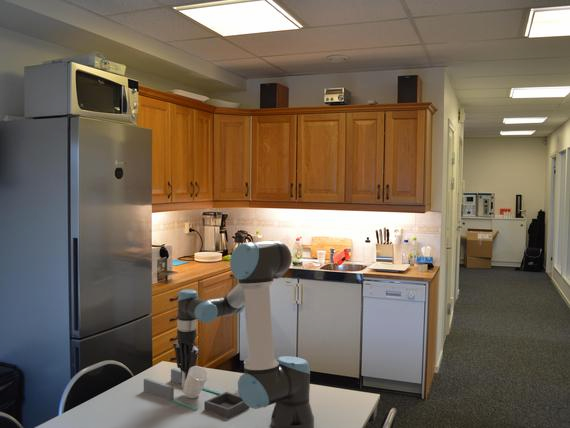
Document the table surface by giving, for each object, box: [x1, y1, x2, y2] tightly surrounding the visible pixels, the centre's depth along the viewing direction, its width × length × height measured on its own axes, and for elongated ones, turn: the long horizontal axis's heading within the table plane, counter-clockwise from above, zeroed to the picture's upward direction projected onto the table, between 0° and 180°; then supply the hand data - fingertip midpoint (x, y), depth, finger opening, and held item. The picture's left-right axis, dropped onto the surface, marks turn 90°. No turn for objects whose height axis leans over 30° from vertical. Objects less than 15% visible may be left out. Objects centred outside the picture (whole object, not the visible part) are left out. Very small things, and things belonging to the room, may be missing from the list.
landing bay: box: [171, 386, 222, 411], centre depth 206 cm, size 13×17×1 cm
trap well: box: [203, 391, 250, 419], centre depth 198 cm, size 12×12×3 cm
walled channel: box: [143, 367, 182, 402], centre depth 215 cm, size 16×16×5 cm
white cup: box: [182, 365, 209, 399], centre depth 207 cm, size 8×8×10 cm
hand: (185, 386), depth 211 cm, fingers closed
